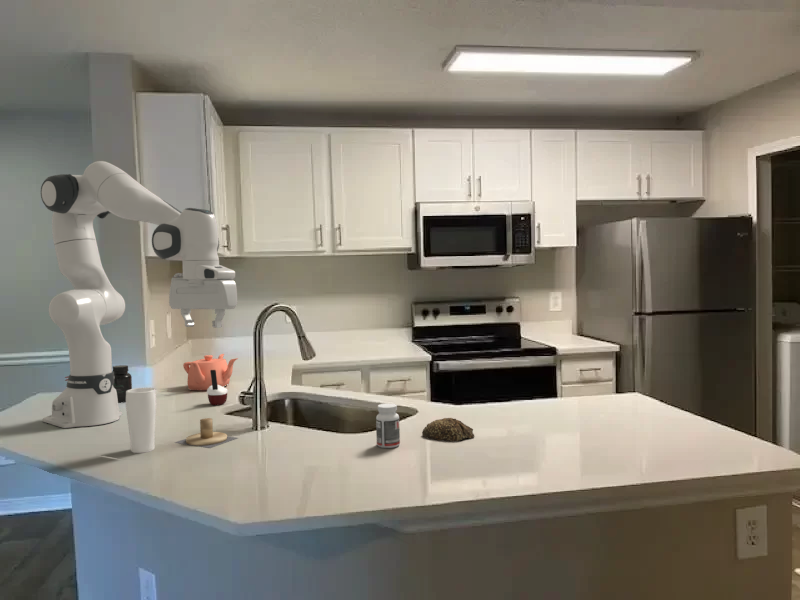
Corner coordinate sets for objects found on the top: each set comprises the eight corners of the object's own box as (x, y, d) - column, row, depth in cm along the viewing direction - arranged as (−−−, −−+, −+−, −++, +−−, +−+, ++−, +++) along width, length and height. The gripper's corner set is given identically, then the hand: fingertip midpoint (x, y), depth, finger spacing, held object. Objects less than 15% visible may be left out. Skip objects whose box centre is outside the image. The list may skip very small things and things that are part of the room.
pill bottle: (403, 443, 154) (402, 403, 154) (395, 449, 149) (394, 408, 148) (381, 441, 156) (380, 402, 156) (373, 447, 151) (372, 407, 150)
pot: (240, 389, 232) (239, 355, 232) (192, 394, 223) (192, 359, 222) (224, 382, 248) (223, 351, 247) (179, 387, 238) (178, 354, 238)
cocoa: (217, 402, 210) (216, 366, 210) (233, 402, 208) (232, 366, 208) (199, 407, 201) (198, 369, 201) (216, 407, 199) (215, 369, 199)
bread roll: (415, 437, 161) (415, 418, 161) (445, 427, 170) (445, 409, 170) (454, 445, 152) (454, 425, 152) (484, 435, 161) (484, 416, 161)
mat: (174, 444, 157) (174, 442, 157) (203, 434, 166) (203, 433, 166) (210, 449, 151) (210, 447, 151) (238, 439, 160) (238, 437, 160)
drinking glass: (147, 456, 147) (144, 393, 146) (121, 454, 148) (119, 392, 147) (163, 448, 153) (161, 387, 153) (138, 446, 155) (136, 387, 154)
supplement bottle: (118, 398, 217) (116, 364, 216) (136, 399, 216) (135, 364, 215) (106, 402, 210) (105, 367, 209) (125, 403, 209) (123, 367, 208)
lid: (177, 442, 156) (176, 421, 156) (206, 433, 165) (206, 413, 165) (206, 447, 152) (206, 426, 151) (235, 437, 161) (234, 417, 160)
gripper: (162, 273, 159) (164, 327, 159) (222, 271, 149) (224, 329, 150) (181, 273, 164) (183, 325, 165) (240, 271, 155) (242, 326, 155)
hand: (203, 327), depth 157 cm, fingers open, 8 cm apart
